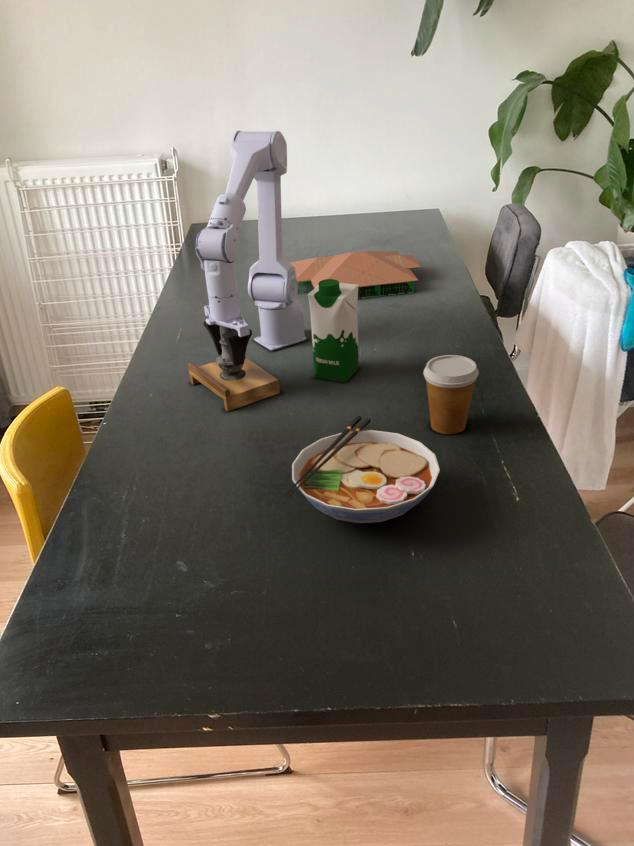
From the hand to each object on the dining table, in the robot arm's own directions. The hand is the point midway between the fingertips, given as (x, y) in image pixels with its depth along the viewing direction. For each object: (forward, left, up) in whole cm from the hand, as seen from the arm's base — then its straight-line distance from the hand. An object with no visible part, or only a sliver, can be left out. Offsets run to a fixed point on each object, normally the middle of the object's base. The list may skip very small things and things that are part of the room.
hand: (231, 359), depth 161 cm
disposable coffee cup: (-23, +39, -7) cm, 46 cm away
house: (-54, -32, -7) cm, 63 cm away
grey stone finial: (0, 0, -4) cm, 4 cm away
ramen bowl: (+4, +50, -7) cm, 51 cm away
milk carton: (-20, +8, -7) cm, 23 cm away
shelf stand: (0, 0, -6) cm, 6 cm away
